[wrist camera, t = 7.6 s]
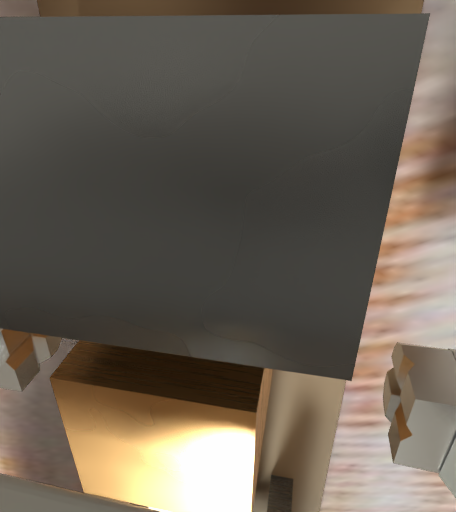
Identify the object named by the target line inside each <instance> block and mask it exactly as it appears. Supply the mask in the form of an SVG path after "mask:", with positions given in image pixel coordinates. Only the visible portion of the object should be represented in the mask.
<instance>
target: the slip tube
mask: <svg viewBox="0 0 456 512" xmlns="http://www.w3.org/2000/svg"><path fill="white" fill-rule="evenodd" d="M272 372H273V369H269V368H262V367H255V366H248V365H242V364H235V363H228V362H222V361H215V360H208V359H202V358H195V357H188V356H181V355H175V354H168V353H161V352H155V351H148V350H141V349H135V348H128V347H121V346H115V345H108V344H101V343H94V342H88V341H81V340H79V341H78V343H77V344H76V345H75V346H74V348H73V349H72V350H71V352H70V353H69V354H68V355H67V357H66V358H65V359H64V360H63V362H62V363H61V364H60V365H59V367H58V368H57V369H56V370H55V372H54V373H53V374H52V375H51V377H50V381H51V384H52V388H53V391H54V394H55V398H56V401H57V404H58V408H59V411H60V414H61V418H62V421H63V424H64V428H65V431H66V434H67V438H68V441H69V444H70V448H71V451H72V454H73V458H74V461H75V464H76V468H77V471H78V474H79V478H80V481H81V484H82V488H83V491H84V492H85V493H89V494H94V495H98V496H103V497H107V498H111V499H116V500H120V501H125V502H129V503H134V504H138V505H143V506H147V507H149V509H154V510H158V511H162V512H253V508H254V501H255V494H256V484H257V477H258V470H259V463H260V456H261V449H262V442H263V435H264V428H265V421H266V414H267V407H268V400H269V393H270V386H271V379H272Z"/></svg>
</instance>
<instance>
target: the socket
mask: <svg viewBox="0 0 456 512" xmlns="http://www.w3.org/2000/svg"><path fill="white" fill-rule="evenodd" d="M429 16H430V13H427V14H309V15H191V16H73V17H0V328H1V329H7V330H14V331H21V332H27V333H34V334H41V335H48V336H54V337H61V338H68V339H74V340H81V341H88V342H94V343H101V344H108V345H115V346H121V347H128V348H135V349H141V350H148V351H155V352H161V353H168V354H175V355H181V356H188V357H195V358H202V359H208V360H215V361H222V362H228V363H235V364H242V365H248V366H255V367H262V368H269V369H275V370H282V371H289V372H295V373H302V374H309V375H315V376H322V377H329V378H336V379H342V380H349V381H352V376H353V371H354V367H355V362H356V357H357V353H358V348H359V343H360V339H361V334H362V329H363V324H364V320H365V315H366V310H367V306H368V301H369V296H370V292H371V287H372V282H373V278H374V273H375V268H376V264H377V259H378V254H379V250H380V245H381V240H382V236H383V231H384V226H385V222H386V217H387V212H388V208H389V203H390V198H391V194H392V189H393V184H394V180H395V175H396V170H397V166H398V161H399V156H400V151H401V147H402V142H403V137H404V133H405V128H406V123H407V119H408V114H409V109H410V105H411V100H412V95H413V91H414V86H415V81H416V77H417V72H418V67H419V63H420V58H421V53H422V49H423V44H424V39H425V35H426V30H427V25H428V21H429Z"/></svg>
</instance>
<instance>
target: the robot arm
mask: <svg viewBox="0 0 456 512" xmlns="http://www.w3.org/2000/svg"><path fill="white" fill-rule="evenodd" d="M61 339H62V338H61V337H54V336H48V335H41V334H34V333H27V332H21V331H14V330H7V329H1V328H0V388H3V389H9V390H16V391H23V390H24V388H25V387H26V386H27V385H28V384H29V383H30V382H31V380H32V379H33V378H34V377H35V376H36V375H37V373H38V372H39V371H40V363H41V362H43V361H45V360H47V359H49V358H51V357H52V356H53V354H54V353H55V352H56V351H57V350H58V347H59V345H60V342H61ZM392 361H393V366H394V368H392V369H391V370H389V371H388V372H387V374H386V379H385V383H384V392H383V404H384V412H385V416H386V417H387V418H388V420H389V421H390V422H391V426H390V429H389V433H388V436H389V442H390V448H391V453H392V459H393V463H394V464H399V465H404V466H408V467H413V468H417V469H422V470H426V471H431V472H435V473H439V477H440V478H441V479H442V481H443V482H444V483H445V485H446V486H447V487H448V488H449V490H450V491H451V492H452V494H453V495H454V496H455V498H456V350H455V349H442V348H435V347H427V346H420V345H413V344H405V343H398V342H397V344H396V345H395V347H394V350H393V353H392ZM0 512H162V511H158V510H154V509H149V508H145V507H141V506H137V505H133V504H128V503H124V502H120V501H116V500H111V499H107V498H103V497H99V496H94V495H90V494H86V493H82V492H77V491H73V490H69V489H65V488H61V487H56V486H52V485H48V484H44V483H39V482H35V481H31V480H27V479H22V478H18V477H14V476H10V475H6V474H1V473H0Z"/></svg>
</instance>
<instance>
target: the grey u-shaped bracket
mask: <svg viewBox="0 0 456 512" xmlns="http://www.w3.org/2000/svg"><path fill="white" fill-rule="evenodd" d="M292 492H293V479H291V478H286V477H281V476H275V475H271V480H270V488H269V497H268V506H267V512H291V509H292ZM130 504H133V505H137V506H141V507H145V508H149V507H147V506H143V505H138V504H134V503H130Z"/></svg>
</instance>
